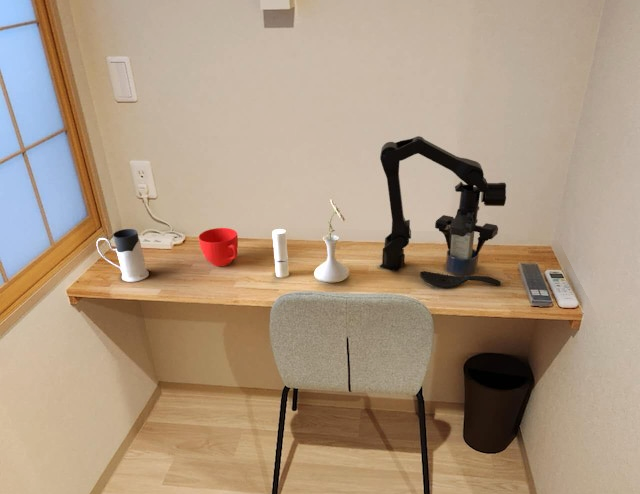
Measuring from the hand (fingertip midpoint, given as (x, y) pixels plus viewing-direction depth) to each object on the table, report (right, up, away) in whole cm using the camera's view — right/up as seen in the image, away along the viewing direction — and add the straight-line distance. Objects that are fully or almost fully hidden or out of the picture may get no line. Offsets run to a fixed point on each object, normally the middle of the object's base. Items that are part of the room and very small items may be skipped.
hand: (463, 252), depth 177 cm
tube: (-59, -7, +4) cm, 59 cm away
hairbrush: (-2, -11, -5) cm, 12 cm away
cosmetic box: (0, -4, +3) cm, 6 cm away
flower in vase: (-42, -8, +1) cm, 43 cm away
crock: (0, -5, +3) cm, 6 cm away
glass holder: (-111, -7, +6) cm, 111 cm away
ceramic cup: (-79, -2, +12) cm, 80 cm away
